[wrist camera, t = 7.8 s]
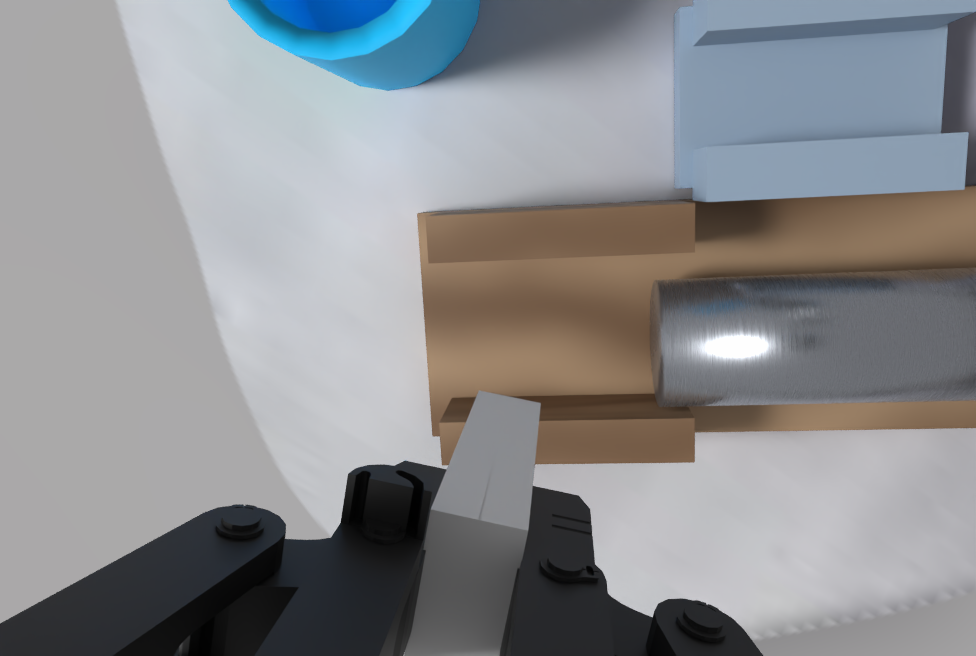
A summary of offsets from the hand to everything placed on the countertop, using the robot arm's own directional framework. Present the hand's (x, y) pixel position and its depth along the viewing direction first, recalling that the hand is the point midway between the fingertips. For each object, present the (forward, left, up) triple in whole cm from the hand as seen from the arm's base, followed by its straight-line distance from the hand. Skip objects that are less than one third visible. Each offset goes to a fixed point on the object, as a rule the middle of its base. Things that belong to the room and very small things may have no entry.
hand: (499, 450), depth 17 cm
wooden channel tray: (0, +7, -16) cm, 17 cm away
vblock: (-9, +12, -16) cm, 22 cm away
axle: (0, +12, -15) cm, 19 cm away
